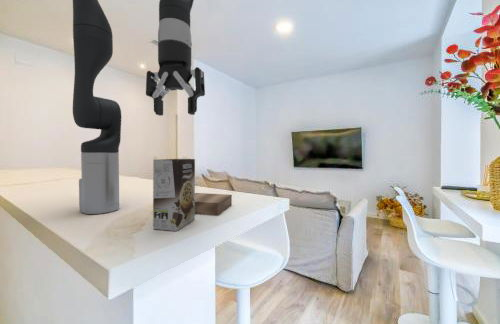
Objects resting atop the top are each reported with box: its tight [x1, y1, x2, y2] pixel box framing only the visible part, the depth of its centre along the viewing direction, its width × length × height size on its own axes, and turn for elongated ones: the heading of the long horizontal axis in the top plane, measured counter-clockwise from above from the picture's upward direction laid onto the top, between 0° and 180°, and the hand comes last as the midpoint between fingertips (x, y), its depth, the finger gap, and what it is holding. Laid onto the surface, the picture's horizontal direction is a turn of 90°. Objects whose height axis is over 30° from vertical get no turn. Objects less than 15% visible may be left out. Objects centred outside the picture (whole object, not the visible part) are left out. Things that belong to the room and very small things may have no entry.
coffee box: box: [152, 158, 196, 232], centre depth 54 cm, size 9×6×16 cm
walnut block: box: [195, 192, 233, 217], centre depth 70 cm, size 13×13×4 cm
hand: (175, 114), depth 53 cm, fingers open, 8 cm apart
